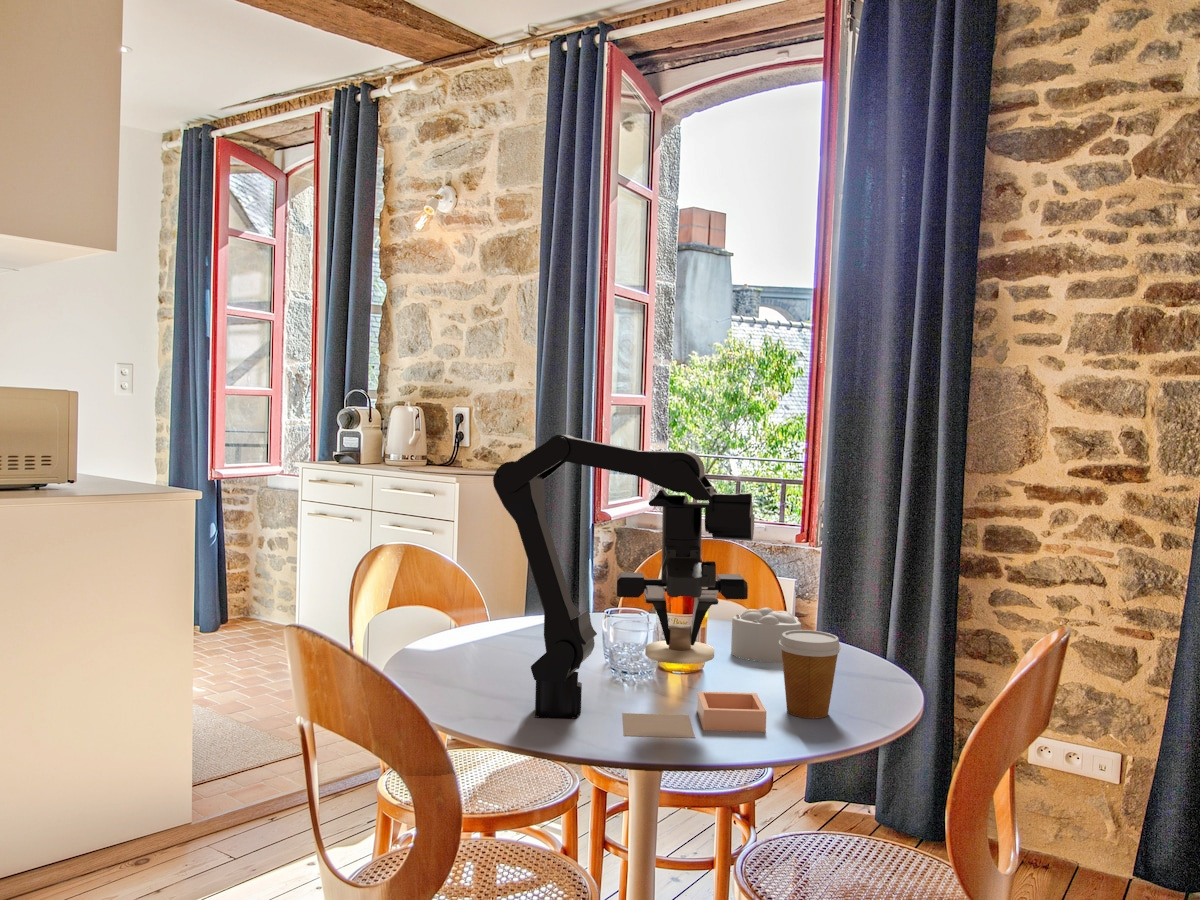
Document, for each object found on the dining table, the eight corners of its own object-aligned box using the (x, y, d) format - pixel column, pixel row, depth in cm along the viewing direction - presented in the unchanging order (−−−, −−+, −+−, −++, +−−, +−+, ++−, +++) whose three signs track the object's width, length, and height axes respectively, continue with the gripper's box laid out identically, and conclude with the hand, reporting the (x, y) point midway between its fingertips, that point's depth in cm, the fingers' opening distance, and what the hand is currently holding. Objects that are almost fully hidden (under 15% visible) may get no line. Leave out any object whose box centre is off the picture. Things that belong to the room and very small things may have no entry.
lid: (646, 663, 130) (646, 633, 130) (644, 646, 140) (644, 618, 140) (717, 664, 130) (718, 634, 130) (710, 647, 140) (711, 619, 140)
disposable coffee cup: (794, 699, 151) (796, 626, 151) (849, 712, 145) (851, 636, 145) (765, 712, 144) (767, 635, 143) (821, 726, 138) (824, 646, 137)
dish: (703, 733, 133) (703, 709, 133) (696, 714, 142) (697, 691, 142) (765, 735, 133) (766, 711, 133) (755, 715, 142) (756, 693, 142)
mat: (623, 739, 130) (623, 735, 130) (622, 717, 140) (622, 713, 140) (695, 741, 130) (695, 737, 130) (688, 719, 140) (688, 715, 140)
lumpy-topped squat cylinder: (802, 664, 174) (803, 618, 174) (732, 660, 175) (733, 615, 175) (795, 650, 185) (796, 607, 184) (729, 647, 186) (731, 604, 185)
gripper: (617, 543, 127) (615, 657, 127) (754, 546, 126) (752, 659, 127) (617, 534, 138) (616, 638, 138) (743, 536, 137) (741, 641, 138)
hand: (680, 644), depth 135 cm, fingers closed on lid, 3 cm apart
